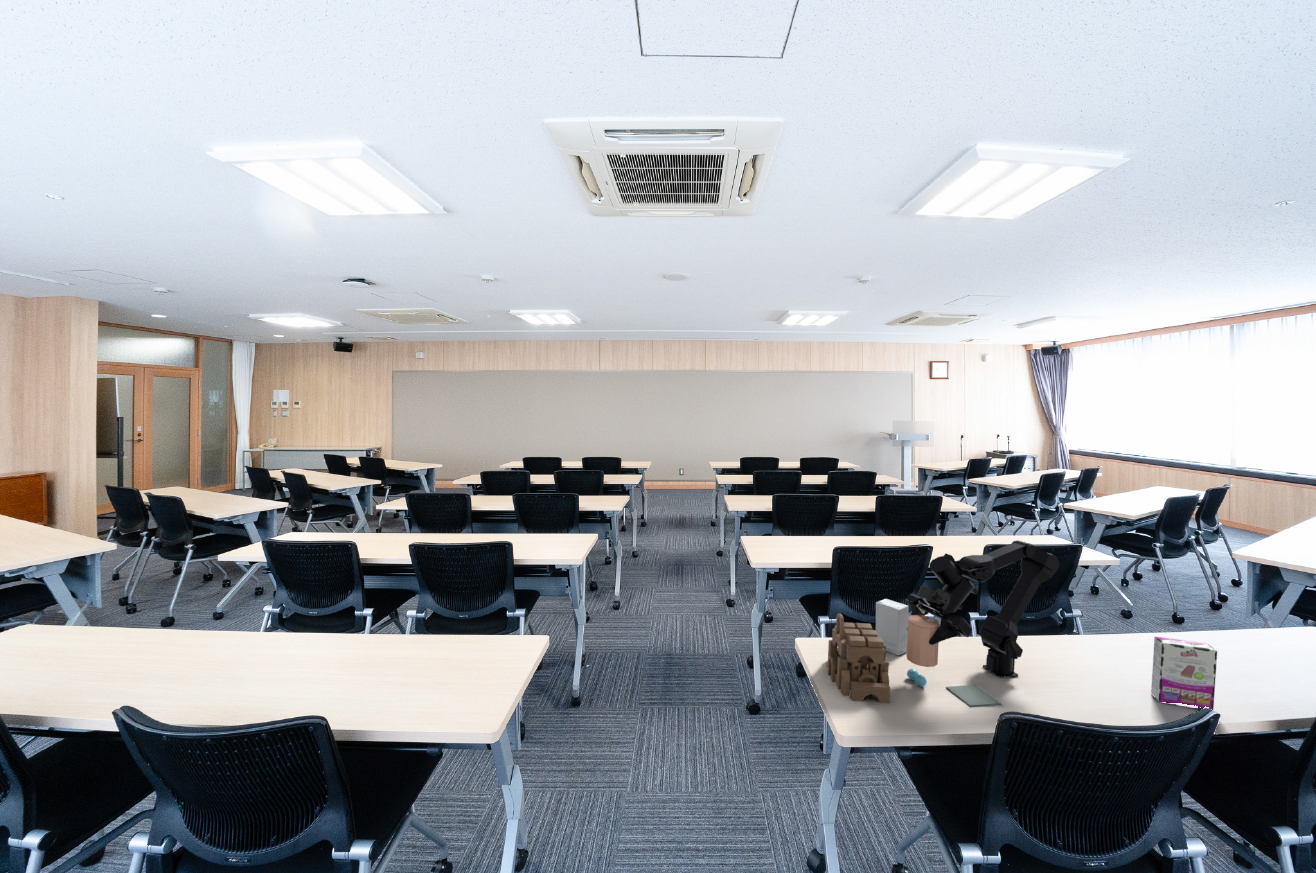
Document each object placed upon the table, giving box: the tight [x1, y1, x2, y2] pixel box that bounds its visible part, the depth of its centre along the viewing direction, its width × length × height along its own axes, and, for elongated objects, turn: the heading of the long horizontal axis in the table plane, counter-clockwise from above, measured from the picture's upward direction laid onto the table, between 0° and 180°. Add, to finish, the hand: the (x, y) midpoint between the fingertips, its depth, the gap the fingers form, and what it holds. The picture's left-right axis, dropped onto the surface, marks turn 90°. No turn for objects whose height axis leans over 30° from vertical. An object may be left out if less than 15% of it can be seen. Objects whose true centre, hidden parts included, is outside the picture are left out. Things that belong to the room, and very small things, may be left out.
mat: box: [945, 684, 1002, 708], centre depth 140 cm, size 9×9×1 cm
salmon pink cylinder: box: [905, 614, 940, 668], centre depth 145 cm, size 8×8×11 cm
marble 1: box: [906, 668, 920, 681], centre depth 148 cm, size 3×3×3 cm
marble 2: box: [913, 674, 928, 688], centre depth 144 cm, size 3×3×3 cm
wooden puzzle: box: [827, 613, 891, 704], centre depth 146 cm, size 22×15×19 cm, turn 176°
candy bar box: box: [1150, 636, 1218, 711], centre depth 139 cm, size 11×5×16 cm, turn 68°
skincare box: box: [875, 598, 910, 656], centre depth 166 cm, size 8×6×15 cm
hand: (918, 637), depth 144 cm, fingers closed on salmon pink cylinder, 8 cm apart
